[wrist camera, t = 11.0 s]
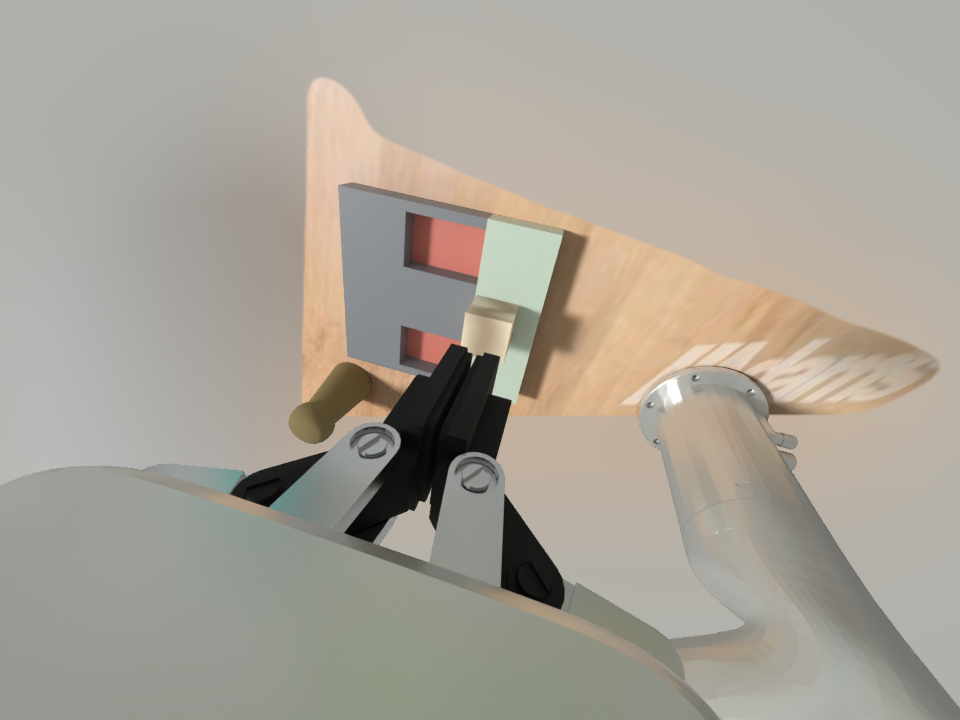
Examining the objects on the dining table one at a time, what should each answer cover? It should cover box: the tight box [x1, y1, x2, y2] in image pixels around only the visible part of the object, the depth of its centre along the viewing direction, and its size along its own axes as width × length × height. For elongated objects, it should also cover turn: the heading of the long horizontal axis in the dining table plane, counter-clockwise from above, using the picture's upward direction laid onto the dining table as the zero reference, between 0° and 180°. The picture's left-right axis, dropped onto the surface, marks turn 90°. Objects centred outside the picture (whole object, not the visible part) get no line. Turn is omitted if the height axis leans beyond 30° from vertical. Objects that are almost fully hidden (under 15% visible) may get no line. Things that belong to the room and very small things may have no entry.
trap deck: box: [338, 183, 564, 404], centre depth 40 cm, size 22×20×2 cm
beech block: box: [461, 295, 519, 364], centre depth 36 cm, size 4×4×4 cm
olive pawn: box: [289, 362, 372, 444], centre depth 47 cm, size 6×6×11 cm
